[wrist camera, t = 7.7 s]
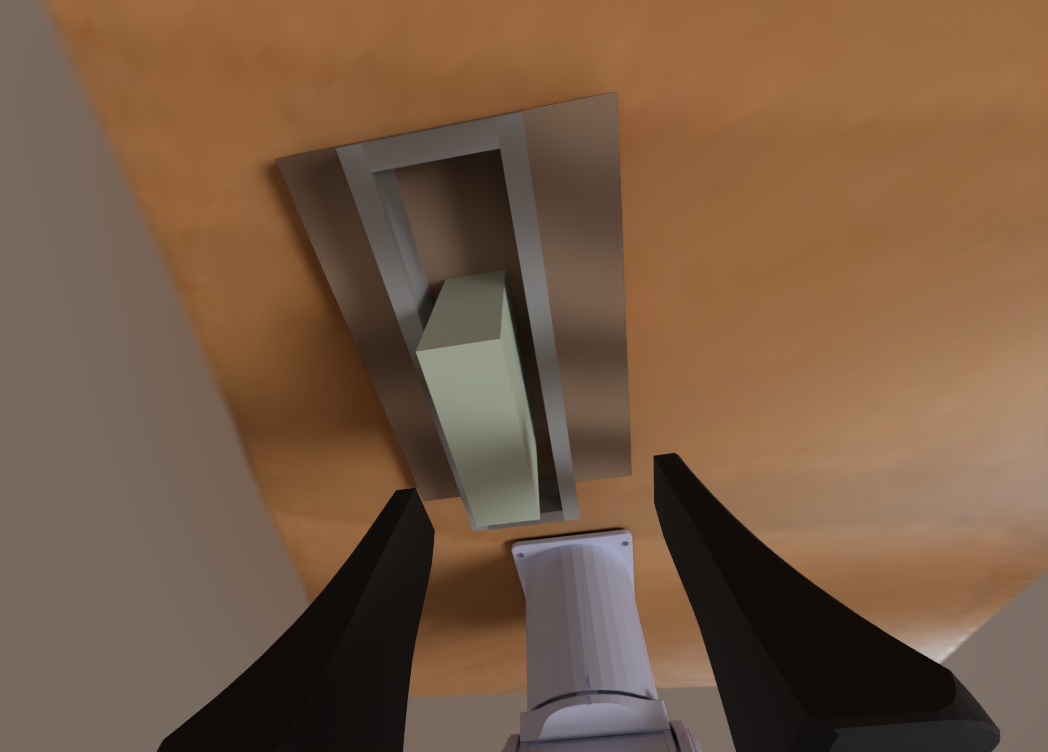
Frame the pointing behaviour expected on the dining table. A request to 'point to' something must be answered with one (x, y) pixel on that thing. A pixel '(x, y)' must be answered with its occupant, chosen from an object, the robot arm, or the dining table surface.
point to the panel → (483, 396)
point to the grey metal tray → (479, 247)
